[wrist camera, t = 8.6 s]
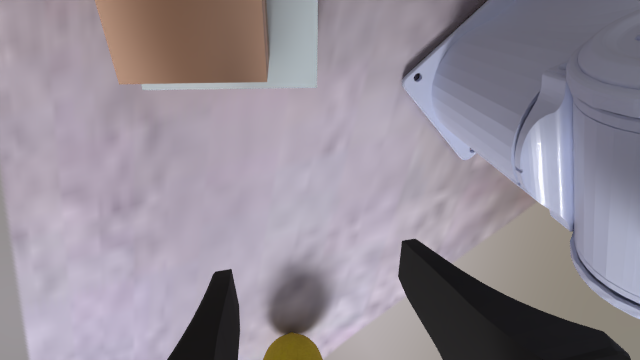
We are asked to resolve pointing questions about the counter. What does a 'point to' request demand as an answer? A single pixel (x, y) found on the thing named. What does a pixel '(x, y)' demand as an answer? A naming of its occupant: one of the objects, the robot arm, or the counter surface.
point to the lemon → (293, 348)
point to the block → (187, 40)
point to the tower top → (279, 50)
